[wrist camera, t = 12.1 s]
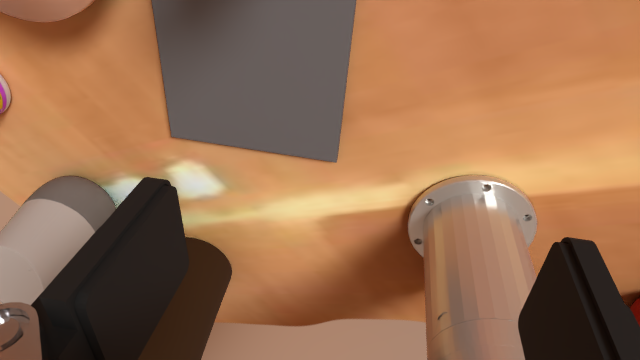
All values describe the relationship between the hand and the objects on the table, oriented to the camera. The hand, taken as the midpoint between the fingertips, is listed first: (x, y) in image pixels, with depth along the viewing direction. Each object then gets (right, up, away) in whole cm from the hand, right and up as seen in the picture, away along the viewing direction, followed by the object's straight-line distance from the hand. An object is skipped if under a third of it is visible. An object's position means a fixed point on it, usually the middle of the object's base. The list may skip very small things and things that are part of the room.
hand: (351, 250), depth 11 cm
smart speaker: (-29, 0, +43) cm, 52 cm away
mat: (-7, +12, +29) cm, 32 cm away
